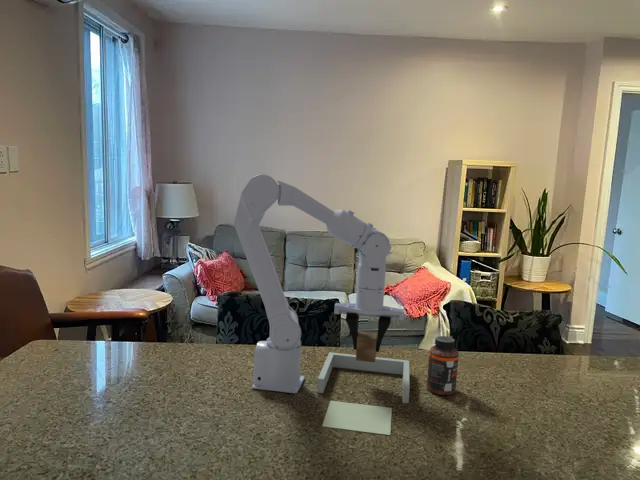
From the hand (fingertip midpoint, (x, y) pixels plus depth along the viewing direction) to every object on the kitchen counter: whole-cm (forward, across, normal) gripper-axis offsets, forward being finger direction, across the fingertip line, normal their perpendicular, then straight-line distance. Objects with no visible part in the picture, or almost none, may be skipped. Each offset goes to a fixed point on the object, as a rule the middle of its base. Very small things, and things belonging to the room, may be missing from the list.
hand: (366, 349), depth 104 cm
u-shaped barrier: (+8, 0, 0) cm, 8 cm away
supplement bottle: (+8, -16, -1) cm, 18 cm away
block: (+2, 0, 0) cm, 2 cm away
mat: (+8, 0, +15) cm, 17 cm away
